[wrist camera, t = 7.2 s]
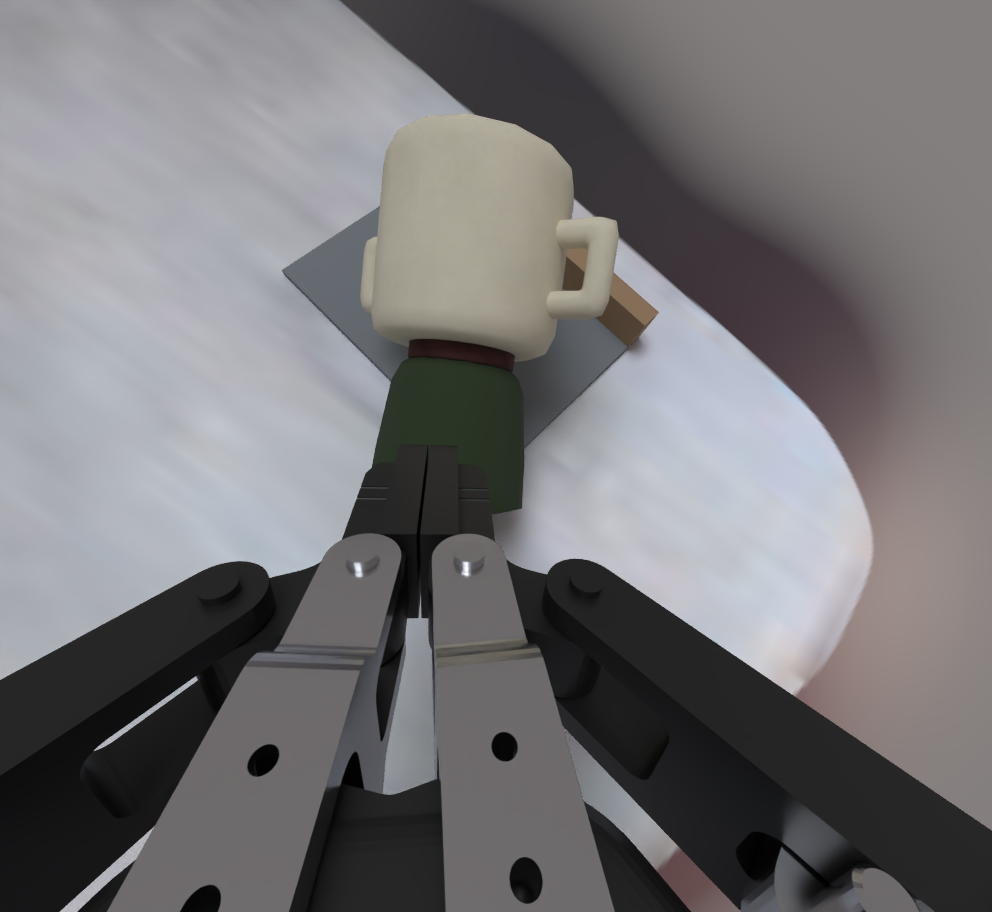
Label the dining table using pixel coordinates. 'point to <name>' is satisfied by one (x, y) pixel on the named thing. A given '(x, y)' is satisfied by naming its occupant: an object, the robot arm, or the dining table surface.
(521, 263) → the character mug
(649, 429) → the dining table surface
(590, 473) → the dining table surface
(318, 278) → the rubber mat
